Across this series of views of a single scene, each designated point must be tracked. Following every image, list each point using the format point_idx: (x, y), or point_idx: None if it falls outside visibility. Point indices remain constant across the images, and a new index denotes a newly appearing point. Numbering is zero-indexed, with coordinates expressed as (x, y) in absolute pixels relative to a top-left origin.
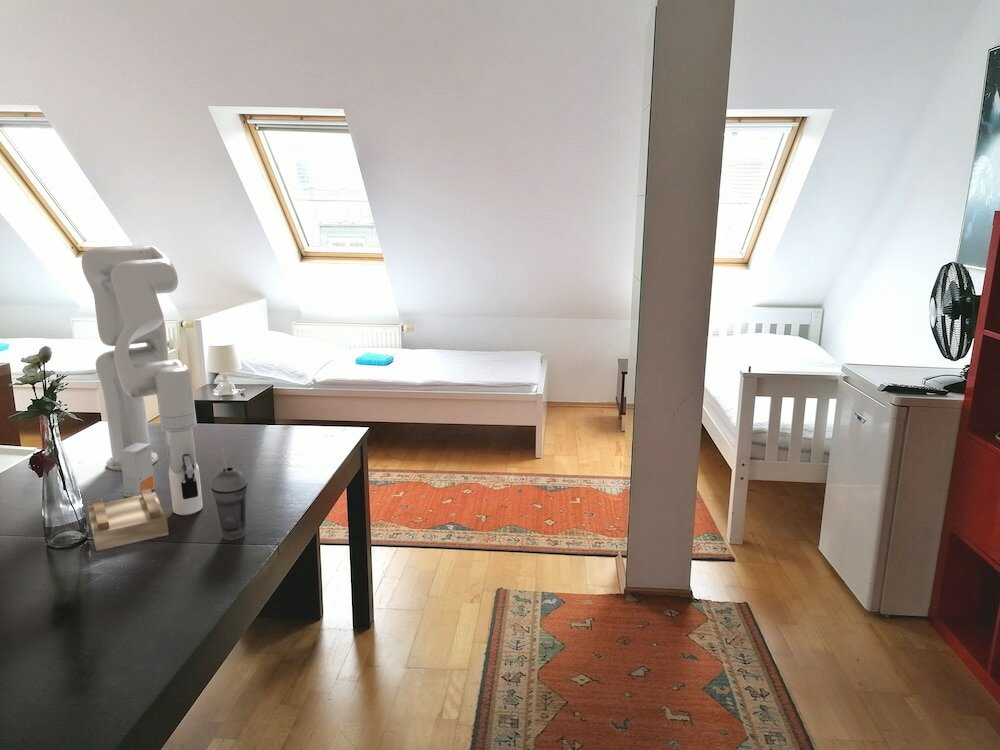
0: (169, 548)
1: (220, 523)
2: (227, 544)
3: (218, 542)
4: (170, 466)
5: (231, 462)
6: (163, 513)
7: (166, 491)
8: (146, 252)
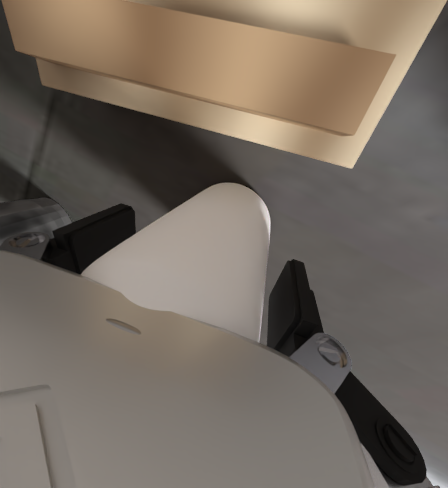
0: (21, 62)
1: (3, 205)
2: (22, 189)
3: (33, 180)
4: (103, 307)
5: (415, 417)
6: (84, 90)
7: (443, 254)
8: None
